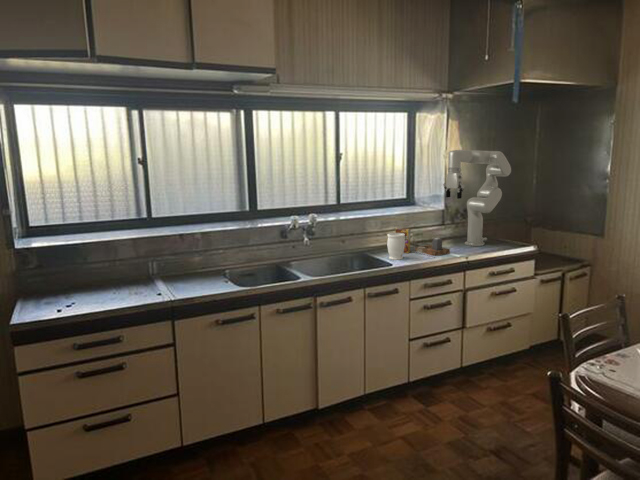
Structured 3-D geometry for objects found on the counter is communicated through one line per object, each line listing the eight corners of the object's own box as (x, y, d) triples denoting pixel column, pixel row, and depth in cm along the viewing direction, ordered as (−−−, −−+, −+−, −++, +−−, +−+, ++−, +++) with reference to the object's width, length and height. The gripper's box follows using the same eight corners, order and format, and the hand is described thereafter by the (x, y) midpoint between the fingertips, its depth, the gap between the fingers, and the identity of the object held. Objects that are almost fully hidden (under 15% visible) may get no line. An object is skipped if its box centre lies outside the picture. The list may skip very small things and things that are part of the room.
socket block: (429, 249, 314) (429, 244, 314) (449, 255, 299) (449, 248, 298) (414, 252, 309) (415, 246, 308) (434, 257, 293) (434, 251, 292)
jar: (393, 255, 301) (393, 231, 298) (407, 257, 295) (408, 233, 292) (383, 259, 293) (383, 234, 290) (398, 261, 287) (399, 236, 284)
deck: (442, 248, 318) (442, 246, 318) (451, 250, 312) (451, 248, 311) (433, 249, 315) (433, 248, 314) (441, 251, 308) (441, 250, 308)
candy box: (394, 252, 311) (394, 228, 308) (397, 251, 314) (397, 227, 311) (408, 253, 306) (408, 229, 303) (410, 252, 310) (410, 228, 307)
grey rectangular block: (437, 254, 303) (437, 237, 301) (441, 255, 299) (442, 238, 297) (432, 254, 301) (432, 238, 299) (436, 256, 297) (437, 239, 295)
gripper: (469, 170, 299) (468, 198, 303) (448, 169, 314) (448, 196, 317) (460, 171, 296) (459, 199, 299) (440, 170, 311) (439, 197, 314)
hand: (453, 197), depth 308 cm, fingers open, 9 cm apart
